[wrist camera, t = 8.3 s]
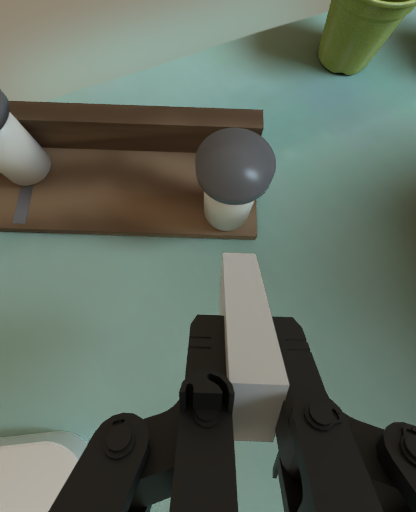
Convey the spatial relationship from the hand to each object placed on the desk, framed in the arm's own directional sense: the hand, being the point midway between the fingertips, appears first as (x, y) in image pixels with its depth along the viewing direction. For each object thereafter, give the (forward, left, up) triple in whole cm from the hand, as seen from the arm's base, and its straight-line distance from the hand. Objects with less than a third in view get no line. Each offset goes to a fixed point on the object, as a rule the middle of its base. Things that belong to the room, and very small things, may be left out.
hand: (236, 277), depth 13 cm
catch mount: (+15, +2, -13) cm, 20 cm away
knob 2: (+8, -5, -12) cm, 15 cm away
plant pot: (+19, -28, -14) cm, 36 cm away
